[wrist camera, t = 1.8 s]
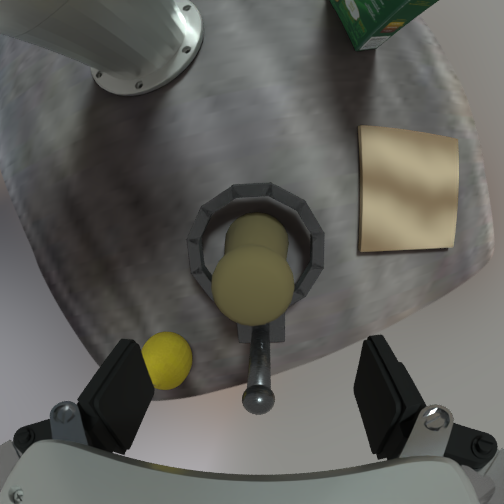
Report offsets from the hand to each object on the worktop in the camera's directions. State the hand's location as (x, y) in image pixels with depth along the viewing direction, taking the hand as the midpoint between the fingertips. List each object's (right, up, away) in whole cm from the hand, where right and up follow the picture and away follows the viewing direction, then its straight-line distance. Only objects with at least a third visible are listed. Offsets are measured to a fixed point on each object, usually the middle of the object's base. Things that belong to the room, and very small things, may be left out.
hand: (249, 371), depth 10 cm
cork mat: (+16, +11, +13) cm, 24 cm away
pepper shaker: (+1, +6, +16) cm, 17 cm away
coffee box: (+10, +28, +8) cm, 31 cm away
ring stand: (+1, +3, +16) cm, 17 cm away
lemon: (-9, -5, +20) cm, 22 cm away
